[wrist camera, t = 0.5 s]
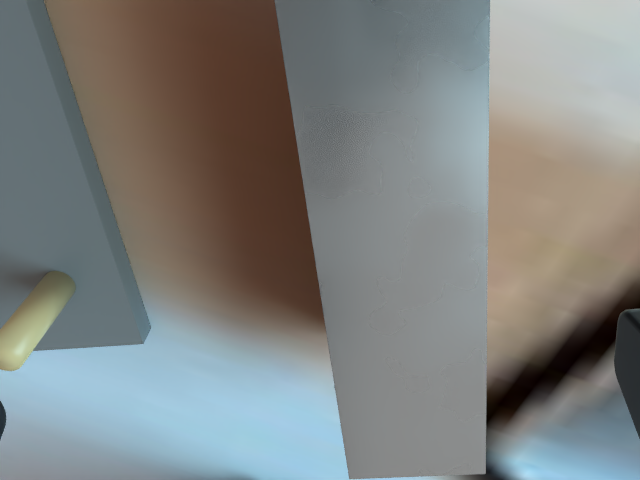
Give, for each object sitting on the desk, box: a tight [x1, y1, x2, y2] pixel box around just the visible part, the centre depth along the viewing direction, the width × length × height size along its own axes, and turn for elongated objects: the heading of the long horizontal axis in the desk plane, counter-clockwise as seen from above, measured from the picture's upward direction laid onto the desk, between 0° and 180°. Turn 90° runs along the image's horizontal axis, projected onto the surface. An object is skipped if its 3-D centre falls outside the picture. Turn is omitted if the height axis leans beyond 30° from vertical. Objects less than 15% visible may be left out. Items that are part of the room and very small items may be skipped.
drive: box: [275, 0, 490, 479], centre depth 17 cm, size 16×4×7 cm, turn 7°
